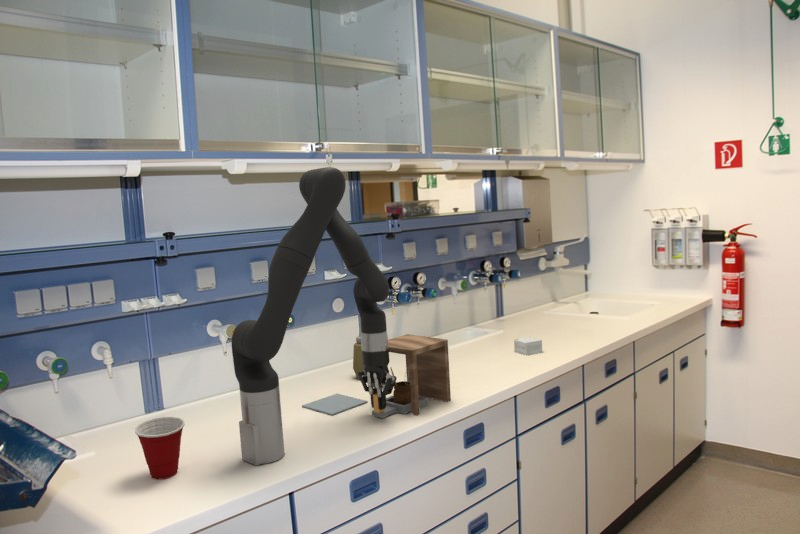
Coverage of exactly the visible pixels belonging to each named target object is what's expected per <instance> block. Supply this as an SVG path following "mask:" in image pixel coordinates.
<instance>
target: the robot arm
mask: <svg viewBox="0 0 800 534" xmlns="http://www.w3.org/2000/svg"><path fill="white" fill-rule="evenodd" d="M298 185H299V187H298V188H299V191H300V194H301V196H302V198H303V200H304V201H305V202H306V204H307V205H306V207H305V209H304V211H303V213H302V214H301V215H300V217H299V218H298V219H297V221H295V223H293V225H292V226H291V228H290V229H289V230H288V231H287V232H286V233H285V234H284V236H283V237H282V238H281V240H280V242H279V243H278V245H277V248H276V250H275V252H274V254H273V257H272V259H271V261H270V264H269V268H268V279H267V280H268V283H267V284H268V286H267V296H266V300H265V304H264V306H263V308H262V310H261V312H260V313H259V316H258V318H257V319H247V320H243V321H241V322H239V323H238V324H237V326H235V328H234V329H233V331H232V335H231V353H232V354H231V355H232V362H233V369H234V374H235V378H236V380H237V382H238V385H239V395H240V396H239V397H240V408H241V420H240V421H239V422H238V427H239V437H240V438H239V439H240V451H241V459H242V461H245V462H247V463H248V464H249V463H250V464H251V465H254V466H259V465H262V464H270V463H274V462H276V461H279V460H280V459H282V458H283V457H284V456H285V444H284V442H285V441H284V431H283V429H284V428H283V417H282V406H281V394H280V391H281V390H280V380H279V374H278V372H277V371H276V370H275V369H274V367H273V366H272V365H271V362H270V360H273V358H275V357H276V355H277V354H278V353H279V352H280V349H281V347H282V344H283V341H284V338H285V334H286V331H287V328H288V324H289V322H290V318H291V315H292V312H293V309H294V308H295V305H296V301H297V299H298V297H299V295H300V293H301V289H302V287H303V284H304V282H305V280H306V278H307V276H308V273H309V270H310V268H311V266H312V264H313V261H314V259H315V256H316V253H317V251H318V249H319V246H320V244H321V242H322V240H323V237H324V235H325V233H326V232H327V234H328V236H329V237H330V239H331V240H332V242H333V244H334V246H335V248H336V249H337V251H338V253H339V255H340V258H341V259H342V262H343V263H344V265H345V267H346V269H347V271H348V272H349V273H350V274H351V275H353V276H355V277H357V278H356V280H355V282H354V283H353V284H354V285H353V289H352V290H353V292H352V293H353V298H354V302H355V305H356V308H357V312H358V314H359V317H360V326H361V348H362V363H363V365H364V366H365V367H364V370H363V371H360V372H358V376H359V378H360V379H359V381H360V383H361V384H362V388H363V390H364V392H365V393H368V394H369V396H370V406H371V408H373V409H374V402H373V394H376V393H378V396H379V397H378V409H379V410H382V409H385V408H386V398H387V396H388V395H390V394H393V393H392V392H393V391H394V385H395V382H396V383H397V376H395V375H394V376H393V375H392V374H390V369H389V367H388V366H389V364H390V352H389V346H388V340H389V337H388V336H389V335H388V331H387V316H386V313H385V311H384V310H383V309H381V308H380V307H378V304H377V303H381V302H384V301H385V300H387V298H388V297H389V295H390V294H389V293H390V284H389V282H388V280H387V278H386V276H385V275H384V273H383V271H382V270H381V269H380V268H379V267H378V266H377V264H376V263H375V262H374V260H372V258H371V255H370V253H369V251H368V249H367V247H366V245H365V243H364V241H363V239H362V238H361V236H360V235H359V234H358V232H356V230H355V229H354V228H353V227H352V226H351V225H350V223H348V222H347V220H346V219H345V218H344V217H343V216H342V215H341V213H340V212H339V210H338V206H339V205H340V203H341V201H342V200H343V198H344V195H345V193H346V185H347V183H346V178H345V176H344V173H343V172H342V171H341V170H340V169H338V168H336V167H332V166H328V167H326V166H325V167H320V168H314V169H309V170H307V171H305V172H304V173H303V174H302V175H301V176H300V179H299V184H298ZM380 384H381V385H380ZM381 389H382V390H381Z"/></svg>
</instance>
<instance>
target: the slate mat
mask: <svg viewBox="0 0 800 534" xmlns="http://www.w3.org/2000/svg"><path fill="white" fill-rule="evenodd" d="M368 403H369V401H368V400H365V399H360V398H357V397H354V396H348V395H345V394H341V393H334V394H332V395H328V396H326V397H322V398H320V399H317V400H314V401H311V402H308V403H305V404H302V405H301V407H302V408H304V409H307V410H311V411H315V412H318V413H320V414H325V415H327V416H332V417H333V416H335V415H338V414H341V413H344V412H346V411H348V410H352V409H355V408H357V407H360V406H362V405H366V404H368Z"/></svg>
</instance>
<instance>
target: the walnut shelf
mask: <svg viewBox="0 0 800 534" xmlns="http://www.w3.org/2000/svg"><path fill="white" fill-rule="evenodd" d="M388 346H389V353H393V354H399V355H405V368H406V370H405V373H406V372H407V373H406V381H408V382H410V386H411V403H412V411H411V415H412V414H413V416H418V414H419V415H420V414H421V411H420V408H419V396H423V397H426V398H427V399H431V398H433V400H436V399H437V400H436V401H440V400H442V402H445V401H447V402H446V403H449V402H451V400H452V399H451V394H452V393H451V380H450V379H451V378H450V377H451V376H450V359H449V358H450V357H449V341H448V339H446V338H441V337H440V338H438V337H433V336H432V337H431V336H423V335H415V334H410V333H409V334H403V335H400V336H396V337H393V338H390V339H389V338H388ZM408 374H409V376H408ZM380 385H381V384H380ZM381 390H382V389H381ZM382 391H383V390H382ZM448 401H449V402H448Z"/></svg>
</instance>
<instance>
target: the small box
mask: <svg viewBox="0 0 800 534" xmlns="http://www.w3.org/2000/svg"><path fill="white" fill-rule="evenodd" d="M513 345H514V346H513V347H514V350H513V351H514V353H516V354H518V355H519V354H520V355H522V354H523V356H525V355H526V356H527V355H528V356H532V354H533V355H539V354H542V353H543V340H542V339H538V338H536V337H531V336H526V337H520V338H515V339H513ZM538 353H539V354H538Z"/></svg>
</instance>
